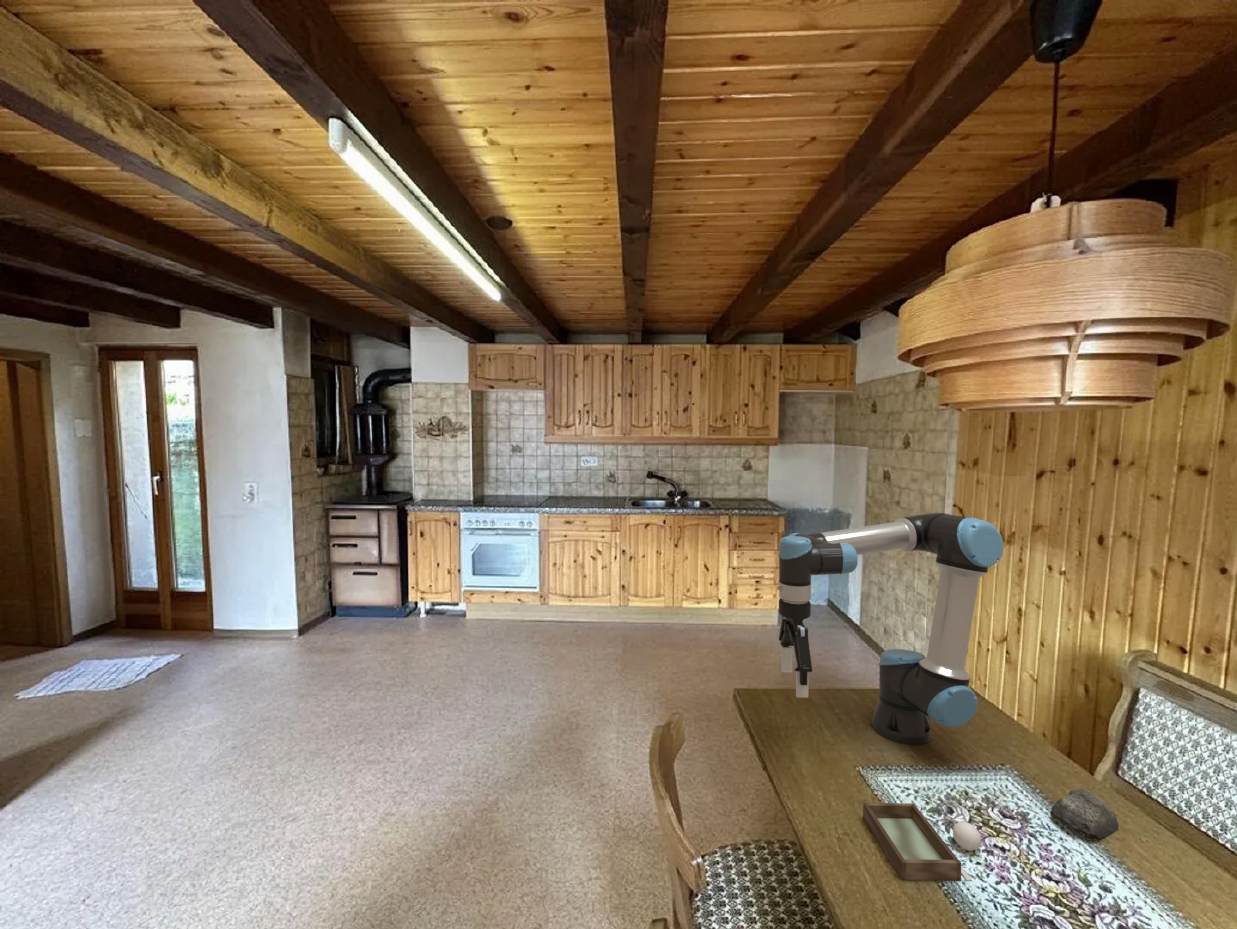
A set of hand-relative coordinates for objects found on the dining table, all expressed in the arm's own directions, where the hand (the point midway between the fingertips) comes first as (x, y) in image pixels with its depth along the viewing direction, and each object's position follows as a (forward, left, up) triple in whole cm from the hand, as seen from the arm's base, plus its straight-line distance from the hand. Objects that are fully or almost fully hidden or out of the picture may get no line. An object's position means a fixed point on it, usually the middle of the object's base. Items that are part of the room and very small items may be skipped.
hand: (793, 683), depth 132 cm
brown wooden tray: (-17, +23, -24) cm, 37 cm away
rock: (-58, +16, -24) cm, 65 cm away
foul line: (-24, +23, -24) cm, 41 cm away
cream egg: (-29, +23, -24) cm, 44 cm away
